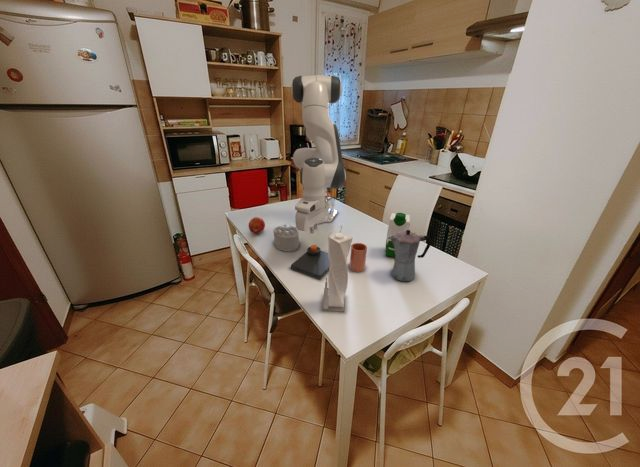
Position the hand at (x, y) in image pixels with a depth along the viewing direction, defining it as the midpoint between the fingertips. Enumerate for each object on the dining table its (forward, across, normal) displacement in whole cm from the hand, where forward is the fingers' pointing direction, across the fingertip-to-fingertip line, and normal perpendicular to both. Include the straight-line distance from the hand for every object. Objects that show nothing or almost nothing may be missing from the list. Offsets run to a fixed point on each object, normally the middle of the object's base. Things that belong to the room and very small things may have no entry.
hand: (313, 232), depth 110 cm
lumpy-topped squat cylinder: (+12, -2, -16) cm, 20 cm away
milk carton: (+12, -22, +30) cm, 39 cm away
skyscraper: (+13, +20, +22) cm, 33 cm away
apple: (+12, -4, -37) cm, 39 cm away
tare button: (+9, 0, 0) cm, 9 cm away
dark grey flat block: (+12, +4, +4) cm, 14 cm away
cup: (+12, -2, +20) cm, 23 cm away
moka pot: (+12, -8, +38) cm, 40 cm away
